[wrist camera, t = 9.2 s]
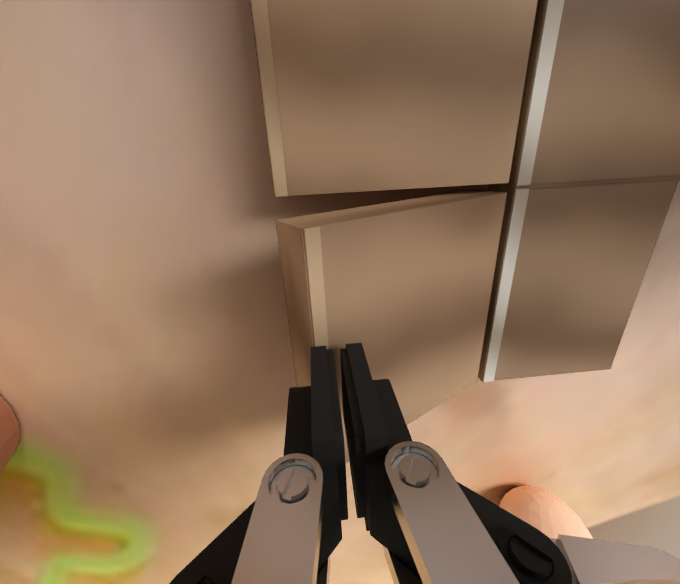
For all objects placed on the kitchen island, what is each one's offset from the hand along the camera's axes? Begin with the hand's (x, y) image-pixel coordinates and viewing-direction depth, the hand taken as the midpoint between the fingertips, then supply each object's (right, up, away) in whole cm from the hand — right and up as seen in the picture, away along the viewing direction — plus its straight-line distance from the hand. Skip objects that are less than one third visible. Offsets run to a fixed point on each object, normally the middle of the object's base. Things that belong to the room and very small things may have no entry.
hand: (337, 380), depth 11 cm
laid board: (+11, +9, +5) cm, 15 cm away
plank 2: (+2, +2, +4) cm, 5 cm away
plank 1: (+2, +13, +2) cm, 13 cm away
